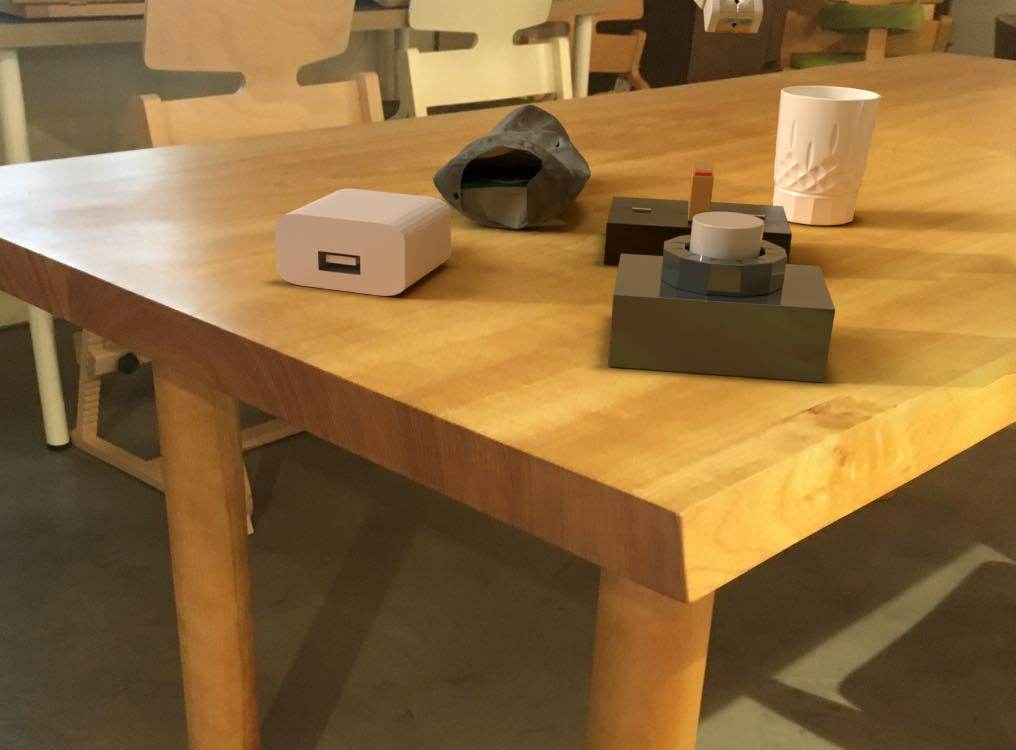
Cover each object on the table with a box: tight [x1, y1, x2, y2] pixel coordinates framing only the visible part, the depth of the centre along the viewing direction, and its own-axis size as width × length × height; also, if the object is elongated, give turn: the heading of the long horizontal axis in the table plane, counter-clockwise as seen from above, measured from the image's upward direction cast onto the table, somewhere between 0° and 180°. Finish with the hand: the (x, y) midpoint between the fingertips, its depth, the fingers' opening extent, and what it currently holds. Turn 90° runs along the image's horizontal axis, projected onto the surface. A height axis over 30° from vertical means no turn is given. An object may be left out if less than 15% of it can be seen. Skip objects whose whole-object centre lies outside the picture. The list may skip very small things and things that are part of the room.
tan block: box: [687, 161, 715, 221], centre depth 91 cm, size 6×2×3 cm, turn 171°
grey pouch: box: [432, 103, 592, 230], centre depth 107 cm, size 13×7×25 cm
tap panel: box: [603, 196, 793, 266], centre depth 93 cm, size 13×10×3 cm
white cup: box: [772, 85, 882, 226], centre depth 103 cm, size 8×8×10 cm
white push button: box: [689, 212, 764, 260], centre depth 71 cm, size 4×4×2 cm
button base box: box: [607, 235, 836, 383], centre depth 72 cm, size 12×9×6 cm
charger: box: [274, 188, 452, 297], centre depth 88 cm, size 5×9×15 cm
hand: (734, 25), depth 69 cm, fingers closed
